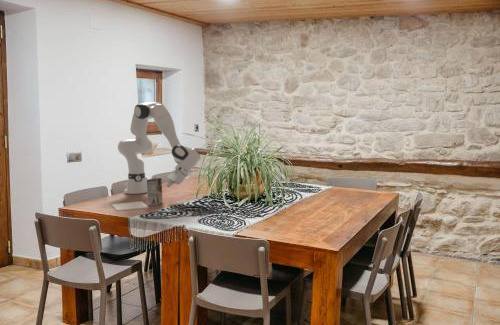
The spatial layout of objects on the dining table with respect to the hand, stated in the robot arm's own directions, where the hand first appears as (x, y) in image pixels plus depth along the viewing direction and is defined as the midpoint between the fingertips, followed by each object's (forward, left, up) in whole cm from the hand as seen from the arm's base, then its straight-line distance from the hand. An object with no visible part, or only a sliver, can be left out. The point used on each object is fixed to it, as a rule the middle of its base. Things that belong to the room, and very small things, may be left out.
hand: (167, 186), depth 301 cm
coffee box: (0, -8, -11) cm, 13 cm away
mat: (0, -24, -10) cm, 26 cm away
